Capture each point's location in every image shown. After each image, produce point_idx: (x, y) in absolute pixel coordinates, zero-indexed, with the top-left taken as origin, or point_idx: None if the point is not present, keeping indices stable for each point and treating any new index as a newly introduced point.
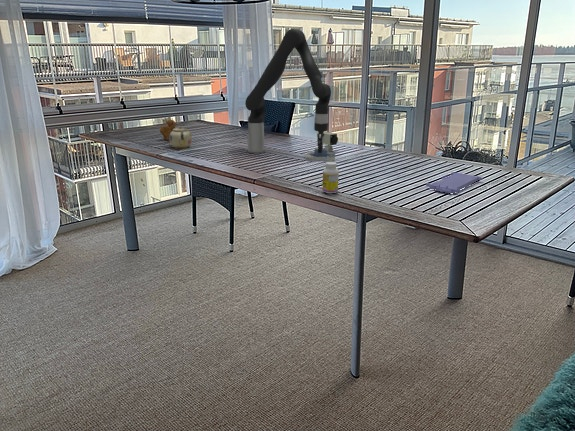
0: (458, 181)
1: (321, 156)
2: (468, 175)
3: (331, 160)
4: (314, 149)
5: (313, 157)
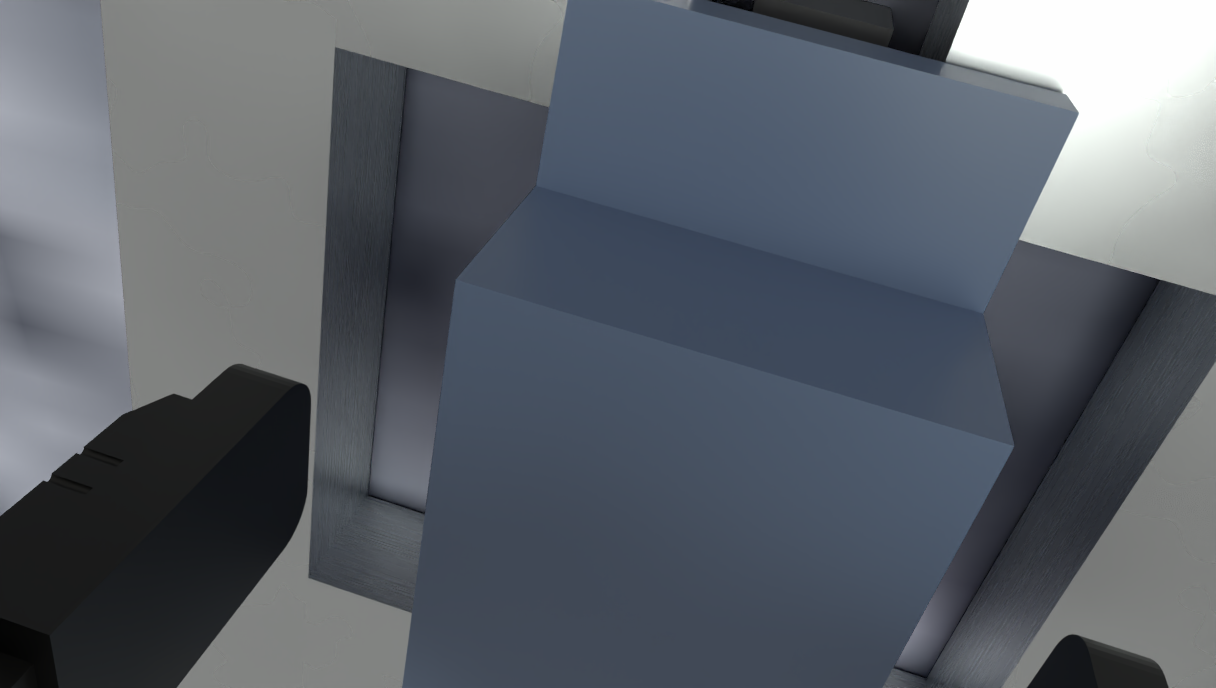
0: None
1: None
2: None
3: None
4: (594, 322)
5: (115, 28)
